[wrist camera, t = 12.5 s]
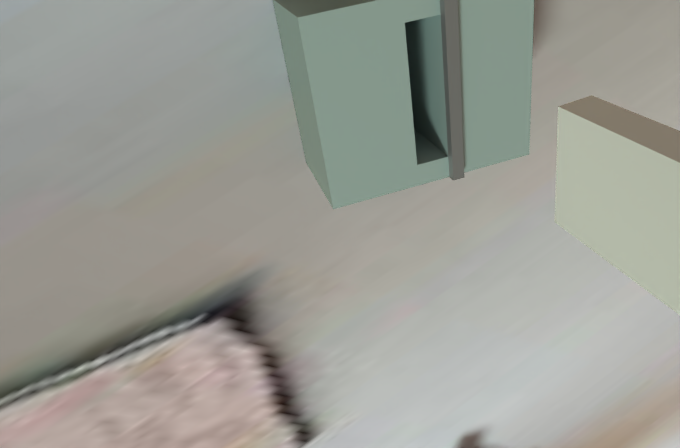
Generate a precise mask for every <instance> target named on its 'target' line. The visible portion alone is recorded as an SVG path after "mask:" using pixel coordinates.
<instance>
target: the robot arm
mask: <svg viewBox="0 0 680 448" xmlns="http://www.w3.org/2000/svg"><path fill="white" fill-rule="evenodd" d="M555 223H557V224H558V225H559V226H561V227H562V228H563V229H565V230H566V231H567V232H569V233H570V234H571V235H573V236H574V237H575V238H577V239H578V240H579V241H581V242H582V243H583V244H585V245H586V246H587V247H589V248H590V249H592V250H593V251H594V252H596V253H597V254H598V255H600V256H601V257H602V258H604V259H605V260H606V261H608V262H609V263H610V264H612V265H613V266H614V267H616V268H617V269H618V270H620V271H621V272H622V273H624V274H625V275H626V276H628V277H629V278H631V279H632V280H633V281H635V282H636V283H637V284H639V285H640V286H641V287H643V288H644V289H645V290H647V291H648V292H649V293H651V294H652V295H653V296H655V297H656V298H657V299H659V300H660V301H661V302H663V303H664V304H665V305H667V306H668V307H670V308H671V309H672V310H674V311H675V312H676V313H678V314H679V315H680V131H678V130H676V129H673V128H671V127H668V126H666V125H663V124H661V123H659V122H656V121H654V120H651V119H649V118H646V117H644V116H641V115H639V114H636V113H634V112H631V111H629V110H626V109H624V108H621V107H619V106H616V105H614V104H611V103H609V102H607V101H604V100H602V99H599V98H597V97H594V96H589V97H586V98H583V99H580V100H577V101H574V102H571V103H568V104H564V105H561V106H558V129H557V162H556V194H555Z"/></svg>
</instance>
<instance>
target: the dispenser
mask: <svg viewBox="0 0 680 448" xmlns="http://www.w3.org/2000/svg"><path fill="white" fill-rule="evenodd" d="M273 4H274V9H275V14H276V19H277V24H278V29H279V33H280V38H281V43H282V48H283V53H284V58H285V62H286V67H287V72H288V77H289V82H290V87H291V91H292V96H293V101H294V106H295V111H296V116H297V120H298V125H299V130H300V135H301V140H302V145H303V149H304V154H305V159H306V163H307V165H308V166H309V168H310V170H311V172H312V173H313V175H314V177H315V179H316V180H317V182H318V184H319V185H320V187H321V189H322V191H323V192H324V194H325V196H326V197H327V199H328V201H329V203H330V204H331V206H332V208H333V209H336V208H340V207H343V206H347V205H350V204H354V203H357V202H361V201H364V200H368V199H372V198H375V197H379V196H382V195H386V194H389V193H393V192H397V191H400V190H404V189H407V188H411V187H414V186H418V185H422V184H425V183H429V182H432V181H436V180H439V179H443V178H447V177H450V178H451V179H452V180H456V179H460V178H463V177H464V172H468V171H472V170H475V169H479V168H482V167H486V166H489V165H493V164H497V163H500V162H504V161H507V160H511V159H514V158H518V157H522V156H525V155H529V144H530V113H531V82H532V51H533V21H534V0H273Z"/></svg>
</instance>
